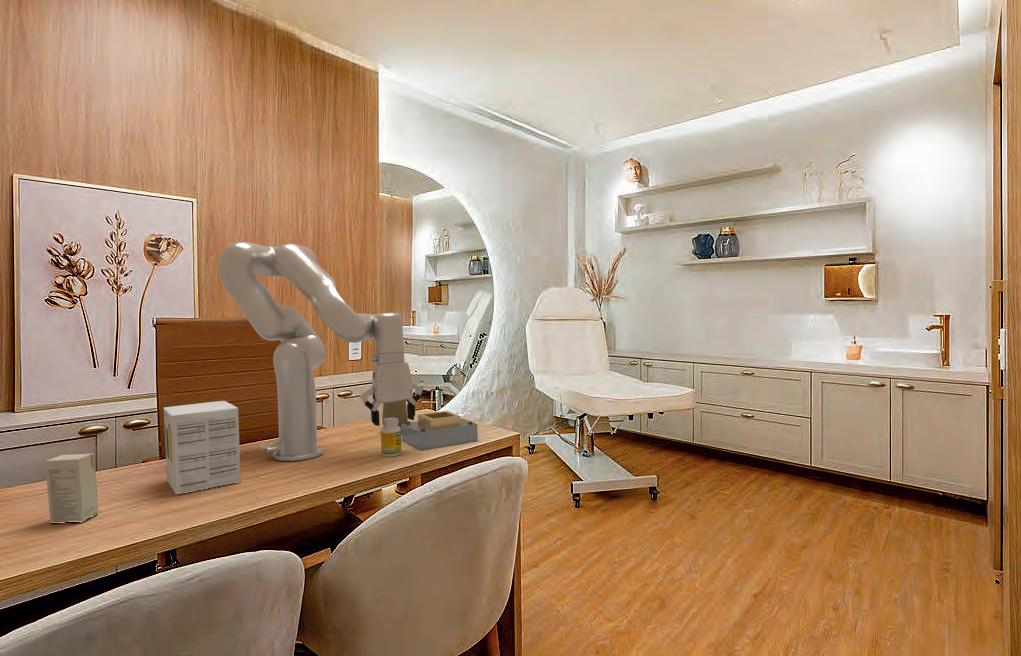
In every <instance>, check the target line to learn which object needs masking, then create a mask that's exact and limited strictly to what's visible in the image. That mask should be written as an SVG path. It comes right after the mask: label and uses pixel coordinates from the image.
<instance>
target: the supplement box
mask: <svg viewBox="0 0 1021 656" xmlns="http://www.w3.org/2000/svg"><path fill="white" fill-rule="evenodd" d="M163 421H164V423H163V424H164V443H165V444H164V445H165V446H164V447H165V463H166V465H165V466H166V467H165V468H166V482H167V481H168V482H167V483H169V484H170V485H169V484H168V485H169V487H170V486H171V487H170V488H172V489H173V490H172V489H171V490H172V492H173V491H174V492H173V494H174V493H175V494H180V493H185V492H190V491H196V490H201V489H206V488H211V487H216V486H221V485H226V484H230V483H235V482H240V483H241V459H240V458H241V457H240V424H239V422H240V421H239V407H237V406H235V405H234V404H232V403H229V402H228V401H226V400H217V401H207V402H201V403H198V402H197V403H194V404H193V403H190V404H181V405H175V406H174V405H172V406H166V407H163ZM226 486H227V485H226ZM221 487H222V486H221ZM216 488H217V487H216ZM211 489H212V488H211ZM206 490H207V489H206ZM201 491H202V490H201ZM196 492H197V491H196ZM175 494H174V495H175Z"/></svg>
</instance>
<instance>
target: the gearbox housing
mask: <svg viewBox="0 0 1021 656" xmlns="http://www.w3.org/2000/svg"><path fill="white" fill-rule="evenodd" d="M477 440H479V438H478V423H476V422H473V421H472V420H468V419H465V418H463V417H461V415H459V414H456V413H453V412H451V411H448V410H442V411H435V412H428V413H419V414H417V420H416V421H411V420H408V421H407V422H406V423H402V433H401V441H403V442H404V443H407V444H408V445H411V446H412V447H414V448H416V449H418V450H419V451H424V450H431V449H436V448H443V447H448V446H453V445H454V444H455V445H459V444H465V443H471V442H472V443H473V442H476V441H477ZM477 442H478V441H477Z"/></svg>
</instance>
